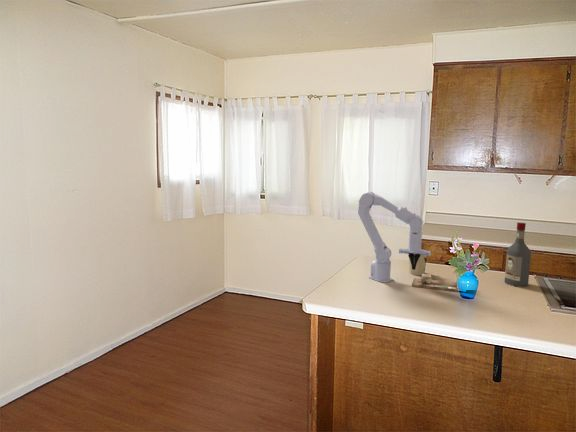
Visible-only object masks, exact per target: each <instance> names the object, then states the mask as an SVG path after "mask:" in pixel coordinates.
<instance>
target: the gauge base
mask: <svg viewBox="0 0 576 432" xmlns="http://www.w3.org/2000/svg"><path fill="white" fill-rule="evenodd" d="M421 279H422V278H417V277H414V278H413V280H412V282H411V287H412V288H413V287H414V288H423V289H429V290H430V289H431V290H440V291H447V292H457V293H459V292H458V288H457V283H458V282H454V281H443V280H435V279H434V280H433V279H431V282H430V284H429V283H426V284H425V283H421Z"/></svg>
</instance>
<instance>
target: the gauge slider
mask: <svg viewBox="0 0 576 432" xmlns="http://www.w3.org/2000/svg"><path fill="white" fill-rule="evenodd" d="M420 279H421V283H425V284H426V283H429V284H430V282H431V280H432V274H429V273H424V274H422V275H421V278H420Z"/></svg>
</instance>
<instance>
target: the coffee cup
mask: <svg viewBox="0 0 576 432" xmlns="http://www.w3.org/2000/svg"><path fill="white" fill-rule="evenodd" d="M414 256H415V255H414ZM427 256H428V255H420V257H419V259H418V261H417V264H416V268H415V270H413V269H412V265H411V261H410V259H409V258H408V271H409V273H408V274H410V275H414V276H422V274H426V273H425V272H426V266H427V258H428V257H427Z"/></svg>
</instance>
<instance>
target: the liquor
mask: <svg viewBox="0 0 576 432" xmlns="http://www.w3.org/2000/svg"><path fill="white" fill-rule="evenodd" d="M525 230H526V222H516V234H515V235H516V237H515V240H514V243H512V244H511V245H509V247H508V248H507V250H506V259H505V271H504V283H505V284H506V283H507V285H509V284H510V285H509V286H512V285H513V287H517V286H522V287H528V285H529V279H530V270H531V269H530V268H531V257H532V252H531V249H530V248H529V247H528V246H527V244H526V242H525V232H526V231H525Z"/></svg>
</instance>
